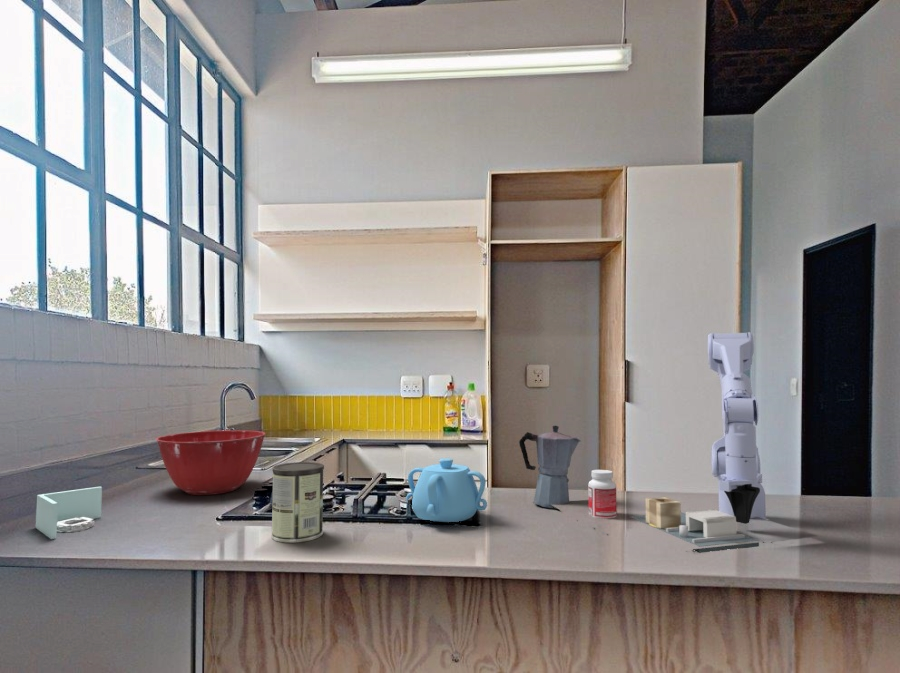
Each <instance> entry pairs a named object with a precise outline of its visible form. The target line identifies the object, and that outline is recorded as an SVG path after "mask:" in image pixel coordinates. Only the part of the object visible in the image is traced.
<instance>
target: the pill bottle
mask: <svg viewBox="0 0 900 673" xmlns="http://www.w3.org/2000/svg"><path fill="white" fill-rule="evenodd" d="M613 473H614V472H613V471H612V470H607V469H593V470H591V478H592V479H591V480H590V481H589V482H588V485H587V487H588V490H587V492H588V493H587V494H588V516H590V517H592V518H596V519H601V520H603V519H608V520H610V519H615V518H617V517H618V516H617V515H618V514H617V513H618V512H617V511H618V509H617V508H618V507H617V485H616V482H615V481H613V480H612V479H613V476H614V474H613Z"/></svg>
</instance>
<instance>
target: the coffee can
mask: <svg viewBox="0 0 900 673" xmlns="http://www.w3.org/2000/svg"><path fill="white" fill-rule="evenodd" d="M324 469H325V465H324V464H323V463H320V462H315V461H314V462H311V461H302V462H301V461H299V462H298V461H297V462H286V463H281V464H277V465H273V466H272V470H271V471H272V504H271V505H272V506H271V507H272V510H271V511H272V513H271V515H272V516H271V517H272V518H271V520H272V521H271V539H272V540H274V541H275V542H279V543H303V542H309V541H313V540H317V539H318V538H320V537H322V536H323V534H324V532H323V525H324V524H323V520H324V519H323V518H324V517H323V514H324V512H323V511H324V508H323V507H324V506H323V505H324V503H323V502H324V501H323V500H324Z"/></svg>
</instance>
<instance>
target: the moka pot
mask: <svg viewBox="0 0 900 673" xmlns="http://www.w3.org/2000/svg"><path fill="white" fill-rule="evenodd" d="M559 427H560V426H558V425H552V432H550V431H549V432H544V433H531V432H528V431H527V432H525V434H524V435H523V436H521V439H519V441H518V442H519V447H520V450H521V451H520V452H521V453H522V454H521V455H522V457H523V461H524V465H525V468H526V469H527V470H532V471H535V470H536V468H537V467H536V466H535V465H531V464H530V461H529V457H528V452H527V449H526V448H527V447H526V444H525V442H526V441H527V440H529V441H532V442H536V443H535V444H536V453H537V454H536V455H537V456H536V457H537V464H538V468H537V469H538V472H539V473H538V477H537V481H536V486H535V492H534V498H533V504H535V505H537V506H538V507H539V506H540V507H543V508H548V509H558V507H555V506H554V505H564V504H569V502H570V493H569V481H570V479H569V477H568V473H569V470H568V469H569V468H570V466H571V461H572V456H573V454H574V453H575V450H576V448H577V446H578V444H579V443H580V442H581V439H580V438H578V437H577V436H571V435H567V434H564V433H562V432H559V431H558V430H559Z"/></svg>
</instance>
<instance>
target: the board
mask: <svg viewBox="0 0 900 673" xmlns="http://www.w3.org/2000/svg"><path fill="white" fill-rule="evenodd" d="M630 518H631V519H634V520H637V521H638V522H640V523H643V524H645V525H647V526H650V527H652V528H655V529H657V530H659V531H661V532H664V533H666V534H669V535H671V536H674V537H675V538H679V540H682V541H686V543H687V542H688V543H689V544H692V545H695V546H697V547H701V548H693V550H692V551H694V550H695V551H694V552H696V551H697V553H699V554H700V553H701V554H702V553H710V551H712V552H718V551H719V550H721V551H728V550H727V549H730V550H737V548H738V549H747V548H755V547H760V542H755V541H758V539H757V538H754V537H751V536H748V535H747V534H746V535H745V534H744V533H740V532H737V531H736V535H727V536H717V537H707V538H706V537H704V531H703V530H694V531H688V526H686V512H682V511H681V525H680V526H679V527H670V528H659V527H657V526H654V525H652V524H649V523H647V522H646V514H644V515H634V516H632V515H631V516H630ZM747 542H748V543H747ZM736 543H739V544H736ZM726 544H727V545H726ZM728 544H731V545H728ZM716 545H721V546H716ZM709 546H711V547H709ZM719 552H720V551H719Z"/></svg>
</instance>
